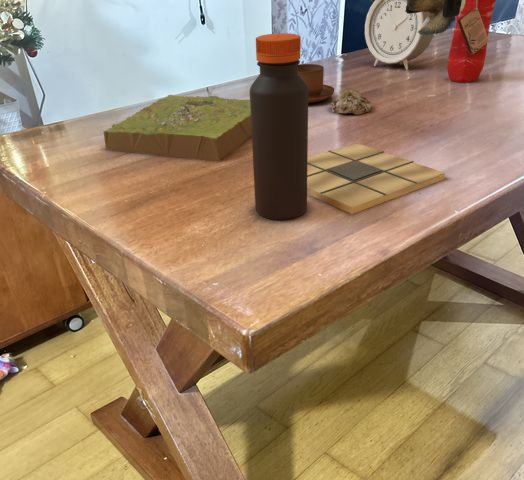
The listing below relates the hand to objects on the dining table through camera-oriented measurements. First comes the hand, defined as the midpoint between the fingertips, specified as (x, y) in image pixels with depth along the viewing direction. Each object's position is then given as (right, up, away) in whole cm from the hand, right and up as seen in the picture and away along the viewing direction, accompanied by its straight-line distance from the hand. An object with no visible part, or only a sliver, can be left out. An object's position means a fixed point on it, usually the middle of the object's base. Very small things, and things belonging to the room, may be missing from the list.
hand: (432, 13), depth 86 cm
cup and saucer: (-18, 0, +29) cm, 34 cm away
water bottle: (+18, +7, +36) cm, 41 cm away
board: (-14, -28, -7) cm, 32 cm away
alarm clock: (+7, +18, +51) cm, 55 cm away
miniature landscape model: (-40, -14, +13) cm, 44 cm away
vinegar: (-25, -35, -14) cm, 45 cm away
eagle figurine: (0, -2, +1) cm, 3 cm away
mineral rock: (-9, -6, +22) cm, 24 cm away
